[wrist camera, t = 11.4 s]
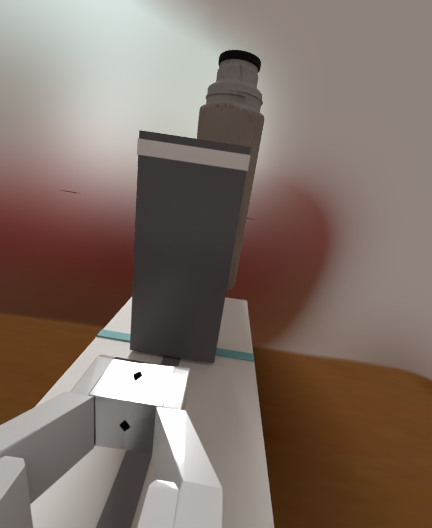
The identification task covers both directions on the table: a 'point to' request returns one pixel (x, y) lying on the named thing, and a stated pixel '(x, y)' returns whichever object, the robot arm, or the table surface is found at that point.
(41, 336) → the table surface
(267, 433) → the table surface
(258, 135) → the thermos bottle
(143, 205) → the fader knob
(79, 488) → the fader board
